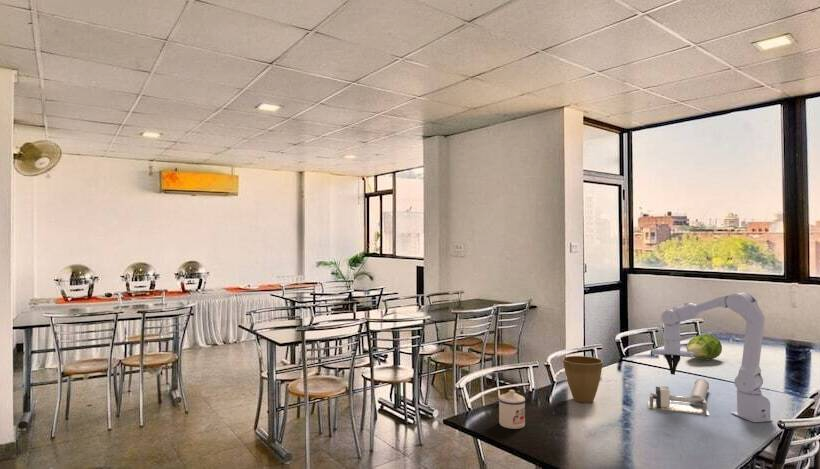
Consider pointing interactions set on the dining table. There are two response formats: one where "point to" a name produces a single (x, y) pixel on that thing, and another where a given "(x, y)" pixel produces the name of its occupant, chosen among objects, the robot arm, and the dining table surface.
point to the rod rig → (681, 407)
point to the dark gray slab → (658, 397)
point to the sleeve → (665, 396)
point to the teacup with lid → (512, 410)
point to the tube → (699, 390)
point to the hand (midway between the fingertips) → (672, 373)
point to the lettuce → (704, 347)
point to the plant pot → (583, 377)
